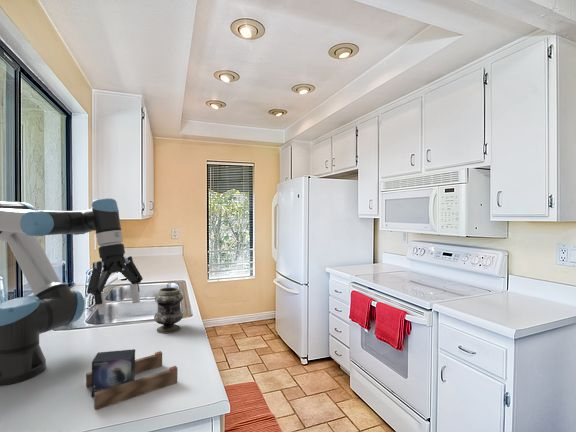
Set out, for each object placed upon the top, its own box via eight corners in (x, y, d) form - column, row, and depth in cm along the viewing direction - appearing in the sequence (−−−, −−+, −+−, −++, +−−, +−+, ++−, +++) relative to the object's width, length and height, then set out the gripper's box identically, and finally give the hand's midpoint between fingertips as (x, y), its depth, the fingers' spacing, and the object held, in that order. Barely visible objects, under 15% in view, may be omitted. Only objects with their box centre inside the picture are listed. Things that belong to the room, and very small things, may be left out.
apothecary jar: (183, 332, 141) (184, 291, 141) (154, 335, 137) (154, 293, 136) (181, 323, 152) (182, 285, 152) (154, 326, 148) (154, 287, 147)
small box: (90, 398, 91) (90, 361, 91) (97, 386, 97) (97, 351, 97) (131, 393, 94) (131, 357, 93) (135, 382, 100) (135, 348, 100)
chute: (95, 409, 86) (95, 392, 86) (85, 385, 97) (86, 370, 97) (177, 382, 100) (177, 367, 100) (160, 364, 111) (160, 351, 111)
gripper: (85, 246, 95) (96, 318, 94) (147, 240, 119) (156, 297, 118) (66, 250, 98) (77, 321, 96) (131, 243, 121) (140, 299, 120)
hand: (120, 308), depth 107 cm, fingers open, 13 cm apart
